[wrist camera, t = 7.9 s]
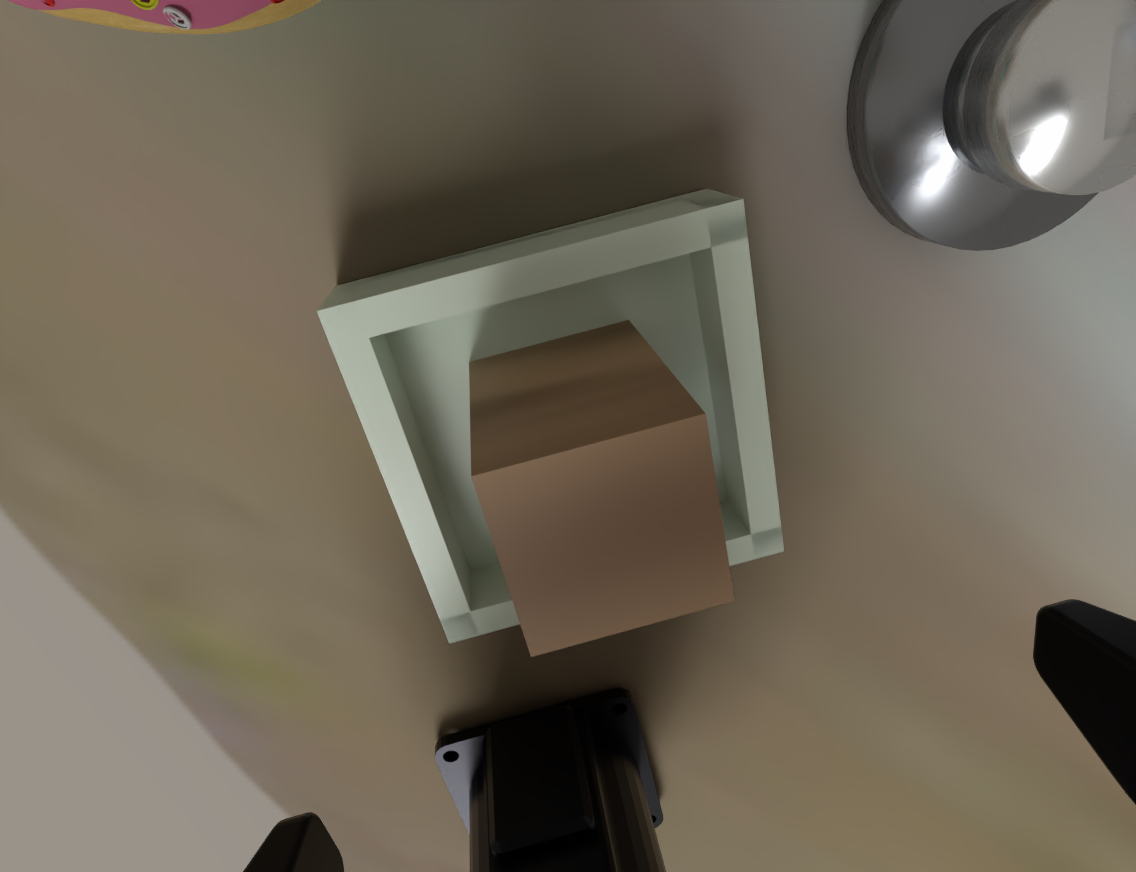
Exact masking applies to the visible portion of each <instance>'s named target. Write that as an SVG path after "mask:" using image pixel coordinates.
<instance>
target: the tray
mask: <svg viewBox="0 0 1136 872" xmlns="http://www.w3.org/2000/svg"><path fill="white" fill-rule="evenodd" d="M317 313H318V316H319V318H320V321H321V323H322V326H323V328H324V331H325V333H326V336H327V338H328V341H329V343H330V346H331V348H332V351H333V353H334V356H335V358H336V361H337V363H338V366H339V368H340V371H341V373H342V376H343V378H344V381H345V383H346V386H347V388H348V391H349V393H350V396H351V398H352V401H353V403H354V406H355V408H356V411H357V413H358V416H359V418H360V421H361V423H362V426H363V428H364V431H365V433H366V436H367V439H368V441H369V444H370V446H371V449H372V451H373V454H374V456H375V459H376V461H377V464H378V466H379V469H380V471H381V474H382V476H383V479H384V481H385V484H386V486H387V489H388V491H389V494H390V496H391V499H392V501H393V504H394V506H395V509H396V511H397V514H398V516H399V519H400V521H401V524H402V526H403V529H404V531H405V534H406V536H407V539H408V541H409V544H410V546H411V549H412V551H413V554H414V556H415V559H416V561H417V564H418V566H419V569H420V571H421V574H422V576H423V579H424V582H425V584H426V587H427V589H428V592H429V594H430V597H431V599H432V602H433V604H434V607H435V609H436V612H437V614H438V617H439V619H440V622H441V624H442V627H443V629H444V632H445V634H446V637H447V639H448V642H449V644H450V643H454V642H458V641H461V640H465V639H468V638H472V637H476V636H479V635H483V634H486V633H490V632H494V631H497V630H501V629H505V628H508V627H512V626H515V625H519V624H520V622H519V619H518V616H517V613H516V610H515V607H514V604H513V601H512V598H511V595H510V592H509V589H508V586H507V583H506V580H505V577H504V574H503V571H502V568H501V565H500V562H499V559H498V556H497V553H496V550H495V547H494V544H493V541H492V538H491V535H490V532H489V529H488V526H487V523H486V520H485V517H484V514H483V511H482V508H481V505H480V502H479V499H478V496H477V493H476V490H475V487H474V484H473V481H472V478H471V446H470V390H469V362H471V361H475V360H478V359H482V358H486V357H490V356H494V355H497V354H501V353H505V352H509V351H512V350H516V349H520V348H524V347H528V346H531V345H535V344H539V343H543V342H547V341H550V340H554V339H558V338H562V337H565V336H569V335H573V334H577V333H581V332H584V331H588V330H592V329H596V328H600V327H603V326H607V325H611V324H615V323H619V322H622V321H626V320H629V321H630V322H631V323H632V324H633V326H634V327H635V328H636V329H637V330H638V332H639V333H640V334H641V335H642V337H643V338H644V339H645V340H646V341H647V343H648V344H649V345H650V346H651V348H652V349H653V350H654V351H655V352H656V354H657V355H658V356H659V357H660V359H661V360H662V361H663V362H664V363H665V365H666V366H667V367H668V368H669V369H670V371H671V372H672V373H673V374H674V376H675V377H676V378H677V379H678V380H679V382H680V383H681V384H682V385H683V387H684V388H685V389H686V390H687V391H688V393H689V394H690V395H691V396H692V398H693V399H694V400H695V401H696V402H697V404H698V405H699V406H700V407H701V408H702V410H703V411H704V412H705V413H706V419H707V425H708V432H709V438H710V445H711V451H712V458H713V464H714V470H715V477H716V483H717V490H718V496H719V502H720V509H721V515H722V522H723V528H724V534H725V541H726V547H727V554H728V560H729V566H732V565H736V564H740V563H743V562H747V561H751V560H754V559H758V558H761V557H765V556H769V555H772V554H776V553H779V552H783V551H784V546H783V537H782V529H781V520H780V511H779V503H778V494H777V485H776V477H775V468H774V459H773V451H772V442H771V434H770V425H769V416H768V408H767V399H766V390H765V382H764V373H763V364H762V356H761V347H760V338H759V330H758V321H757V312H756V304H755V295H754V286H753V278H752V269H751V260H750V252H749V243H748V234H747V226H746V217H745V208H744V200H743V199H742V198H739V197H735V196H732V195H728V194H724V193H721V192H717V191H714V190H710V189H703V190H699V191H695V192H692V193H688V194H684V195H680V196H676V197H673V198H669V199H665V200H661V201H657V202H653V203H650V204H646V205H642V206H638V207H634V208H631V209H627V210H623V211H619V212H615V213H612V214H608V215H604V216H600V217H596V218H593V219H589V220H585V221H581V222H577V223H573V224H570V225H566V226H562V227H558V228H554V229H551V230H547V231H543V232H539V233H535V234H532V235H528V236H524V237H520V238H516V239H512V240H509V241H505V242H501V243H497V244H493V245H490V246H486V247H482V248H478V249H474V250H471V251H467V252H463V253H459V254H455V255H451V256H448V257H444V258H440V259H436V260H432V261H429V262H425V263H421V264H417V265H413V266H410V267H406V268H402V269H398V270H394V271H390V272H387V273H383V274H379V275H375V276H371V277H368V278H364V279H360V280H356V281H352V282H349V283H345V284H341V285H337V286H336V287H335V288H334V289H333V291H332V292H331V293H330V295H329V296H328V297H327V298H326V300H325V301H324V302H323V304H322V305H321V306H320V308H319V309H318V310H317Z"/></svg>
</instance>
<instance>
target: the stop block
mask: <svg viewBox="0 0 1136 872" xmlns="http://www.w3.org/2000/svg"><path fill="white" fill-rule="evenodd" d="M469 390H470V446H471V478H472V481H473V484H474V487H475V490H476V493H477V496H478V499H479V502H480V505H481V508H482V511H483V514H484V517H485V520H486V523H487V526H488V529H489V532H490V535H491V538H492V541H493V544H494V547H495V550H496V553H497V556H498V559H499V562H500V565H501V568H502V571H503V574H504V577H505V580H506V583H507V586H508V589H509V592H510V595H511V598H512V601H513V604H514V607H515V610H516V613H517V616H518V619H519V622H520V625H521V628H522V631H523V634H524V637H525V640H526V643H527V646H528V649H529V652H530V655H531V657H534V656H537V655H541V654H545V653H548V652H552V651H555V650H559V649H563V648H566V647H570V646H574V645H577V644H581V643H584V642H588V641H592V640H595V639H599V638H603V637H606V636H610V635H613V634H617V633H621V632H624V631H628V630H632V629H635V628H639V627H642V626H646V625H650V624H653V623H657V622H661V621H664V620H668V619H671V618H675V617H679V616H682V615H686V614H689V613H693V612H697V611H700V610H704V609H708V608H711V607H715V606H718V605H722V604H726V603H729V602H733V601H735V598H734V592H733V586H732V579H731V573H730V566H729V560H728V554H727V547H726V541H725V534H724V528H723V522H722V515H721V509H720V502H719V496H718V490H717V483H716V477H715V470H714V464H713V458H712V451H711V445H710V438H709V432H708V425H707V419H706V413H705V412H704V411H703V410H702V408H701V407H700V406H699V405H698V404H697V402H696V401H695V400H694V399H693V398H692V396H691V395H690V394H689V393H688V391H687V390H686V389H685V388H684V387H683V385H682V384H681V383H680V382H679V380H678V379H677V378H676V377H675V376H674V374H673V373H672V372H671V371H670V369H669V368H668V367H667V366H666V365H665V363H664V362H663V361H662V360H661V359H660V357H659V356H658V355H657V354H656V352H655V351H654V350H653V349H652V348H651V346H650V345H649V344H648V343H647V341H646V340H645V339H644V338H643V337H642V335H641V334H640V333H639V332H638V330H637V329H636V328H635V327H634V326H633V324H632V323H631V322H630V321H629V320H626V321H622V322H619V323H615V324H611V325H607V326H603V327H600V328H596V329H592V330H588V331H584V332H581V333H577V334H573V335H569V336H565V337H562V338H558V339H554V340H550V341H547V342H543V343H539V344H535V345H531V346H528V347H524V348H520V349H516V350H512V351H509V352H505V353H501V354H497V355H494V356H490V357H486V358H482V359H478V360H475V361H471V362H469Z"/></svg>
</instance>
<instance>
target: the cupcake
mask: <svg viewBox="0 0 1136 872" xmlns="http://www.w3.org/2000/svg"><path fill="white" fill-rule="evenodd" d="M9 1H11V2H13V3H15V4H18V5H21V6H24V7H27V8H31V9H38V10H40V11H43V12H46V13H49V14H52V15H55V16H59V17H63V18H68V19H73V20H78V21H84V22H89V23H95V24H100V25H106V26H111V27H116V28H122V29H128V30H135V31H144V32H156V33H177V34H216V33H227V32H235V31H240V30H246V29H251V28H255V27H259V26H263V25H267V24H270V23H273V22H277V21H280V20H282V19H285V18H288V17H290V16H293V15H295V14H298V13H300V12H302V11H304V10H306V9H308V8H310V7H312V6H313V5H315V4H317V3H318V2H320V1H322V0H9Z"/></svg>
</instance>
